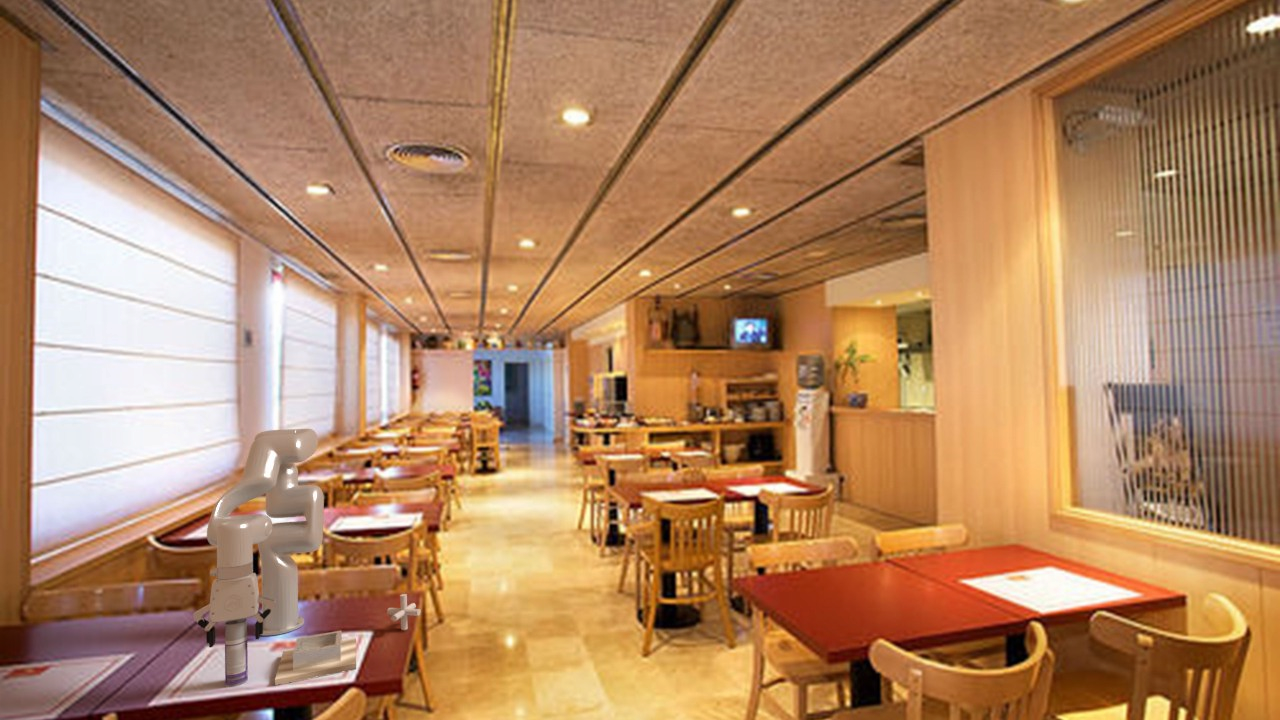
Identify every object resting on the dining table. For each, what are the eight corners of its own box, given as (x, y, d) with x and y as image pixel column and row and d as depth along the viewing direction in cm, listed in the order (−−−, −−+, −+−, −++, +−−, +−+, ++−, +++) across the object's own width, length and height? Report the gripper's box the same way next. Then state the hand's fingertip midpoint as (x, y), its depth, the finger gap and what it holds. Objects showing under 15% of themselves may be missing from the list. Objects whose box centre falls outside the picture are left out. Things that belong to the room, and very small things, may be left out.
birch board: (283, 656, 167) (283, 651, 167) (356, 643, 175) (356, 637, 175) (275, 685, 151) (274, 679, 151) (356, 669, 158) (355, 663, 158)
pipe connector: (409, 636, 178) (409, 601, 178) (378, 635, 180) (378, 600, 180) (428, 623, 188) (427, 589, 188) (398, 621, 190) (398, 588, 190)
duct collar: (297, 653, 165) (296, 638, 166) (341, 645, 170) (341, 630, 170) (293, 670, 156) (292, 654, 156) (340, 660, 160) (340, 645, 160)
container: (232, 678, 155) (231, 618, 156) (251, 676, 156) (250, 617, 156) (221, 687, 151) (220, 625, 151) (241, 686, 151) (240, 624, 152)
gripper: (189, 581, 147) (189, 654, 146) (273, 569, 154) (273, 639, 153) (196, 573, 154) (197, 643, 153) (276, 562, 161) (277, 629, 160)
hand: (235, 641), depth 153 cm, fingers open, 9 cm apart
